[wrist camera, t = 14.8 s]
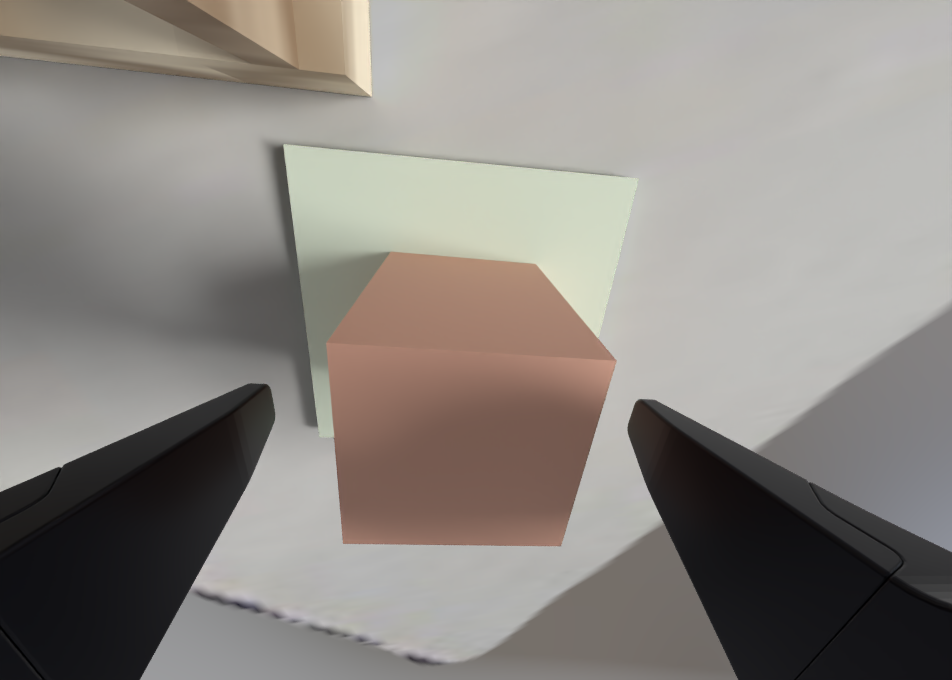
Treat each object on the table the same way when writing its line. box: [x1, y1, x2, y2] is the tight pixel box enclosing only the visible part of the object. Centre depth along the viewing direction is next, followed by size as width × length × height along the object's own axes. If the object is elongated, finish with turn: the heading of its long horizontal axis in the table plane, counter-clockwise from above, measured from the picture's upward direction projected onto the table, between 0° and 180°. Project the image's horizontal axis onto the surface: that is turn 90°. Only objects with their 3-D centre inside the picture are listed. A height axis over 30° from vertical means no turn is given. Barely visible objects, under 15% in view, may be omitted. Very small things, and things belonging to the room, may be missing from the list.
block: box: [326, 252, 616, 546], centre depth 10 cm, size 5×5×7 cm
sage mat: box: [283, 144, 639, 438], centre depth 14 cm, size 11×11×1 cm
